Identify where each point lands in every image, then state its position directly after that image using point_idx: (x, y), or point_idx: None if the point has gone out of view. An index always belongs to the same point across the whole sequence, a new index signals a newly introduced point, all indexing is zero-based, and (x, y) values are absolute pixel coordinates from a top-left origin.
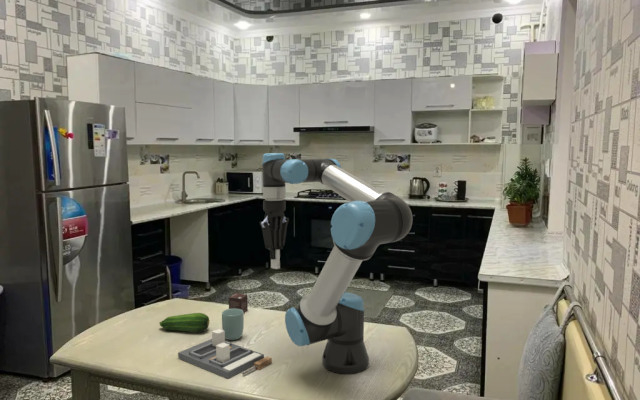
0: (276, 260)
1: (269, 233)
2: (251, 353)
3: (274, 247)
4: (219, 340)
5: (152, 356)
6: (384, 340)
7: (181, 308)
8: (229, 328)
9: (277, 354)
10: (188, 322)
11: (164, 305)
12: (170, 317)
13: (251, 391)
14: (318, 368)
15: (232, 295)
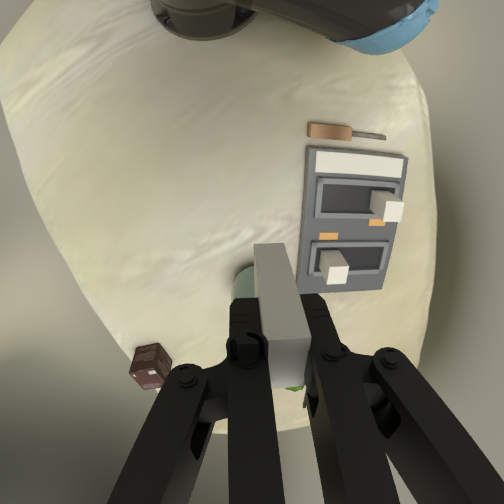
0: (293, 280)
1: (476, 479)
2: (321, 175)
3: (349, 361)
4: (339, 257)
5: (385, 315)
6: (55, 23)
7: None
8: None
9: (263, 141)
10: None
11: (225, 427)
12: (297, 387)
13: (413, 89)
14: (265, 24)
15: (156, 386)
